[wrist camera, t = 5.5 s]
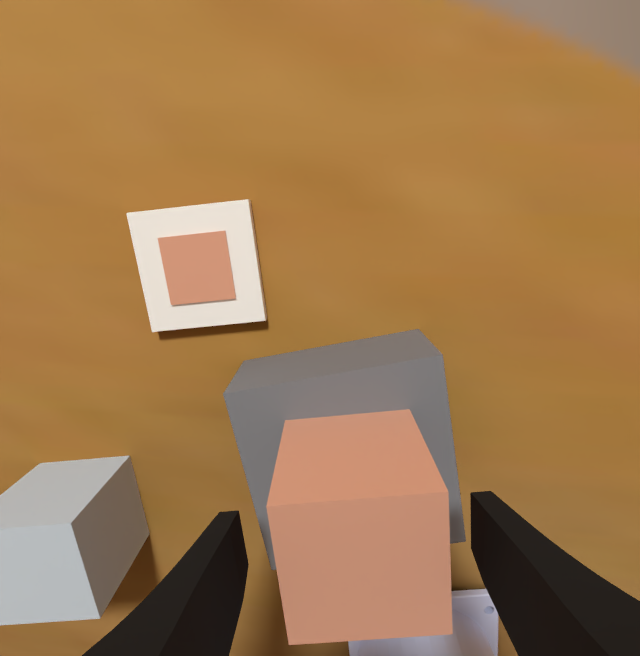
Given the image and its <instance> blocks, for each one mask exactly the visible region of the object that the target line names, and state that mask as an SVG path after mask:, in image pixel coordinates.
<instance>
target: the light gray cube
mask: <svg viewBox="0 0 640 656" xmlns="http://www.w3.org/2000/svg"><path fill="white" fill-rule="evenodd" d="M149 534H150V533H149V529H148V525H147V521H146V517H145V513H144V509H143V505H142V502H141V498H140V494H139V490H138V486H137V482H136V478H135V474H134V470H133V466H132V462H131V458H130V456H120V457H108V458H96V459H84V460H73V461H61V462H49V463H40V464H38V465H37V466H36V467H35V468H33V469H32V470H31V471H30V472H28V473H27V474H26V475H25V476H23V477H22V478H21V479H20V480H19V481H17V482H16V483H15V484H14V485H12V486H11V487H10V488H9V489H7V490H6V491H5V492H4V493H3V494H1V495H0V625H11V624H26V623H41V622H56V621H71V620H86V619H100V618H101V616H102V615H103V613H104V611H105V609H106V608H107V606H108V604H109V603H110V601H111V599H112V597H113V596H114V594H115V592H116V591H117V589H118V587H119V585H120V584H121V582H122V580H123V579H124V577H125V575H126V573H127V572H128V570H129V568H130V567H131V565H132V563H133V561H134V560H135V558H136V556H137V555H138V553H139V551H140V549H141V548H142V546H143V544H144V543H145V541H146V539H147V537H148V536H149Z"/></svg>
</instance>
